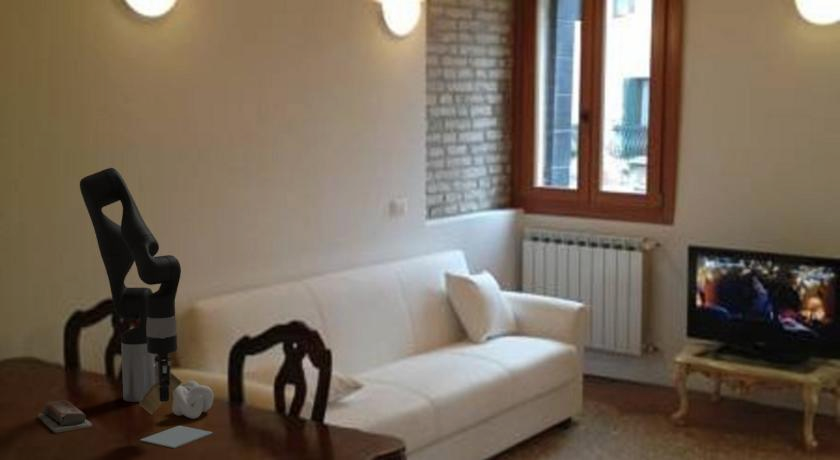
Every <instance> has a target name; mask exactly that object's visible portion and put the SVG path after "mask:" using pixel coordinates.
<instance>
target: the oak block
mask: <svg viewBox="0 0 840 460" xmlns="http://www.w3.org/2000/svg"><path fill="white" fill-rule="evenodd" d="M170 372H171V376H170V386H169V397H170V396H171V395H172V394H173V391H174V390H175V389H176V388H177V387H178V386H181V384H182V383H183V382H182V380H181V378H180V377H178V375H176V374H175V373H174V372H173V371H172V370H170ZM164 381H167V379H162V382H164ZM164 402H165V401H163V402H161V401H160V387H159V380H158V381H157V382H156V383H155V384H154V385H153V386H152V387H151V388H150V390H149V391H148V392H147V393H146V394H145V395H144V396H143V397H142V398H141V399H140V400H139V402H138V405H139V406H140V407H141V408H142V409H144V410H145V411H146V412H148V413H149V414H150V415H151V416H152V415H153V414H154V413H155V412H156V410H157V409H159V407H160V406H161V405H163V403H164Z"/></svg>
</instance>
